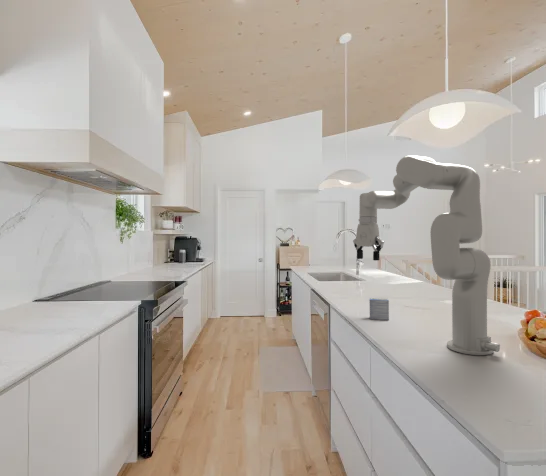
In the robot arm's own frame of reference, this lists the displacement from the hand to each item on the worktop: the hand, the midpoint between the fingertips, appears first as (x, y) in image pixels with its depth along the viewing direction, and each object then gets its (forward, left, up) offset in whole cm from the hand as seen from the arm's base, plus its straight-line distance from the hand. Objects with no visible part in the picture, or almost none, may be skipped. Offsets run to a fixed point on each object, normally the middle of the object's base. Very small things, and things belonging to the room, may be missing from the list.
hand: (367, 259), depth 156 cm
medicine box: (-6, 0, -26) cm, 26 cm away
